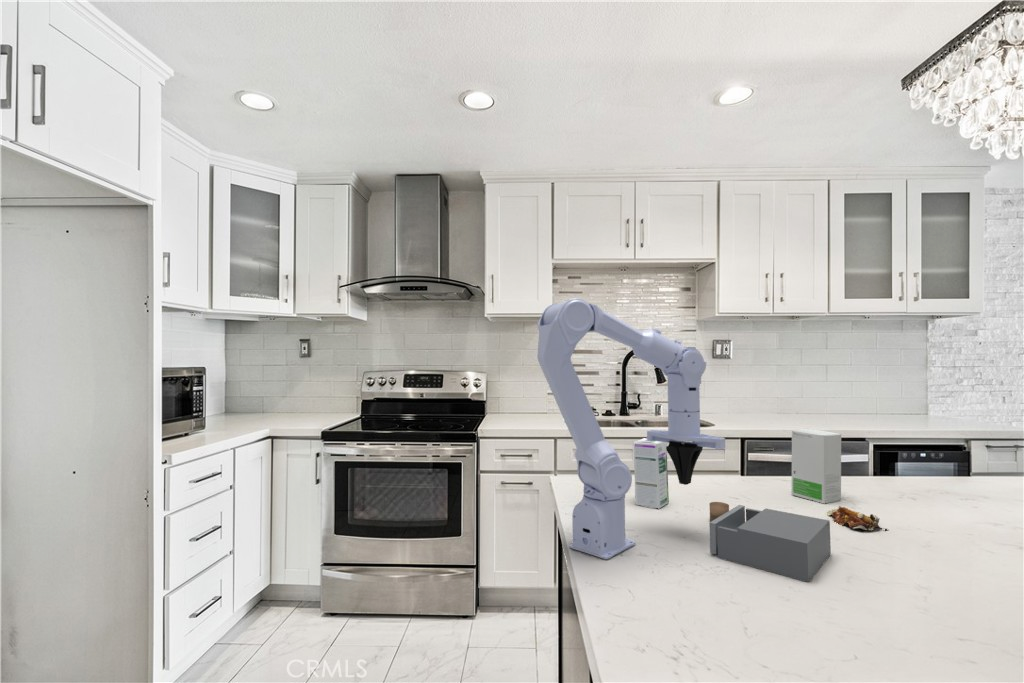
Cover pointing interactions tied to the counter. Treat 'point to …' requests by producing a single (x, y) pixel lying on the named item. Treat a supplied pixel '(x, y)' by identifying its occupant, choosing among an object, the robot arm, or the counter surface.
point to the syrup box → (651, 473)
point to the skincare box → (816, 465)
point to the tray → (726, 524)
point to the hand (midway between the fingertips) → (685, 483)
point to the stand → (717, 509)
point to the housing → (777, 543)
